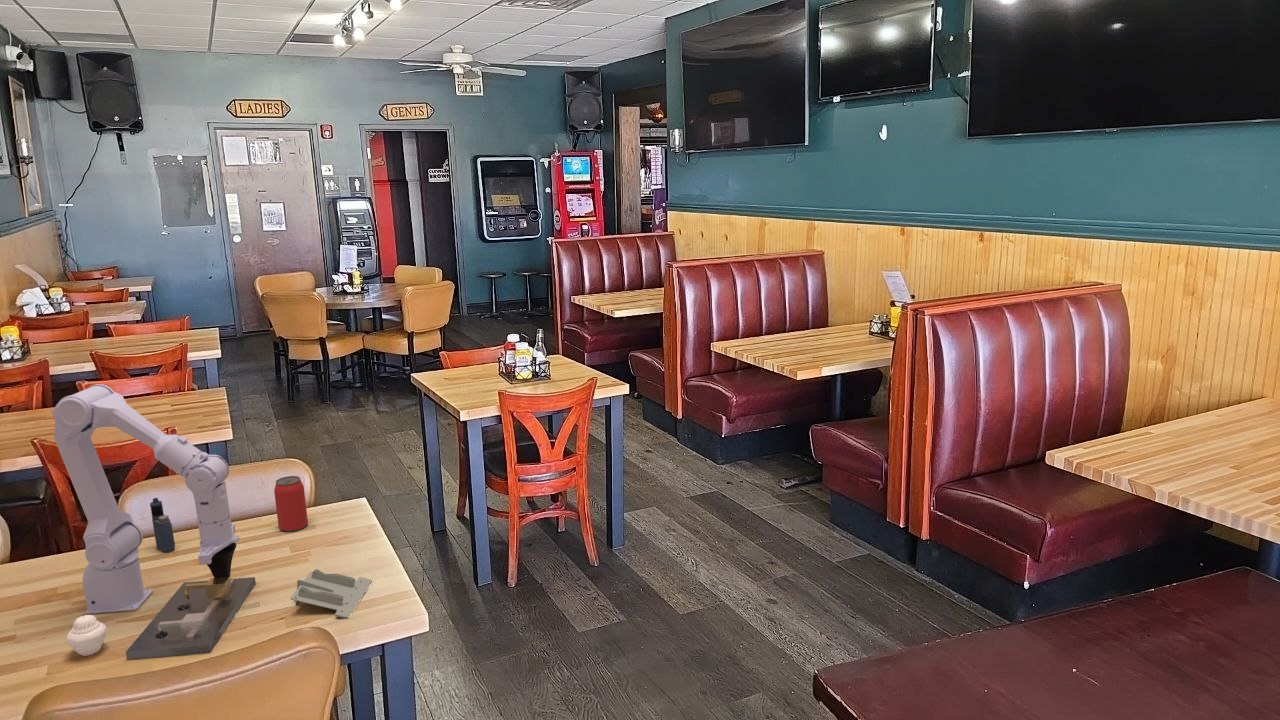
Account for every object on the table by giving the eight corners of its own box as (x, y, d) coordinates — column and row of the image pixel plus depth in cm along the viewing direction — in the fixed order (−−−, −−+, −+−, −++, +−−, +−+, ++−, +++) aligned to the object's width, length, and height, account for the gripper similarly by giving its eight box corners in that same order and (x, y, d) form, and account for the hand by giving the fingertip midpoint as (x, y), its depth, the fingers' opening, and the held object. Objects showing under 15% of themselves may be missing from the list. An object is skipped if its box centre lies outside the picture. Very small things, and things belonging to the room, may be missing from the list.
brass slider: (183, 603, 166) (180, 587, 165) (189, 595, 169) (186, 579, 168) (226, 599, 167) (224, 583, 166) (231, 592, 170) (229, 576, 169)
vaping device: (166, 544, 197) (158, 495, 195) (177, 549, 194) (169, 500, 192) (154, 548, 195) (146, 499, 193) (165, 554, 192) (158, 504, 190)
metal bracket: (283, 594, 162) (311, 558, 176) (277, 621, 163) (306, 583, 177) (357, 611, 163) (380, 574, 177) (352, 638, 164) (374, 599, 178)
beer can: (273, 531, 203) (267, 484, 200) (288, 520, 209) (283, 474, 207) (298, 533, 202) (293, 485, 199) (313, 521, 208) (308, 475, 205)
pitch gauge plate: (126, 659, 151) (123, 636, 150) (185, 589, 176) (181, 569, 175) (210, 652, 152) (206, 629, 151) (255, 583, 177) (253, 563, 176)
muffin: (61, 657, 152) (54, 621, 150) (93, 639, 158) (87, 605, 156) (86, 663, 150) (79, 627, 148) (118, 645, 155) (111, 610, 154)
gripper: (222, 532, 161) (231, 597, 164) (247, 502, 175) (255, 563, 178) (183, 534, 160) (193, 600, 163) (210, 505, 174) (219, 566, 177)
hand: (223, 581), depth 170 cm, fingers closed
